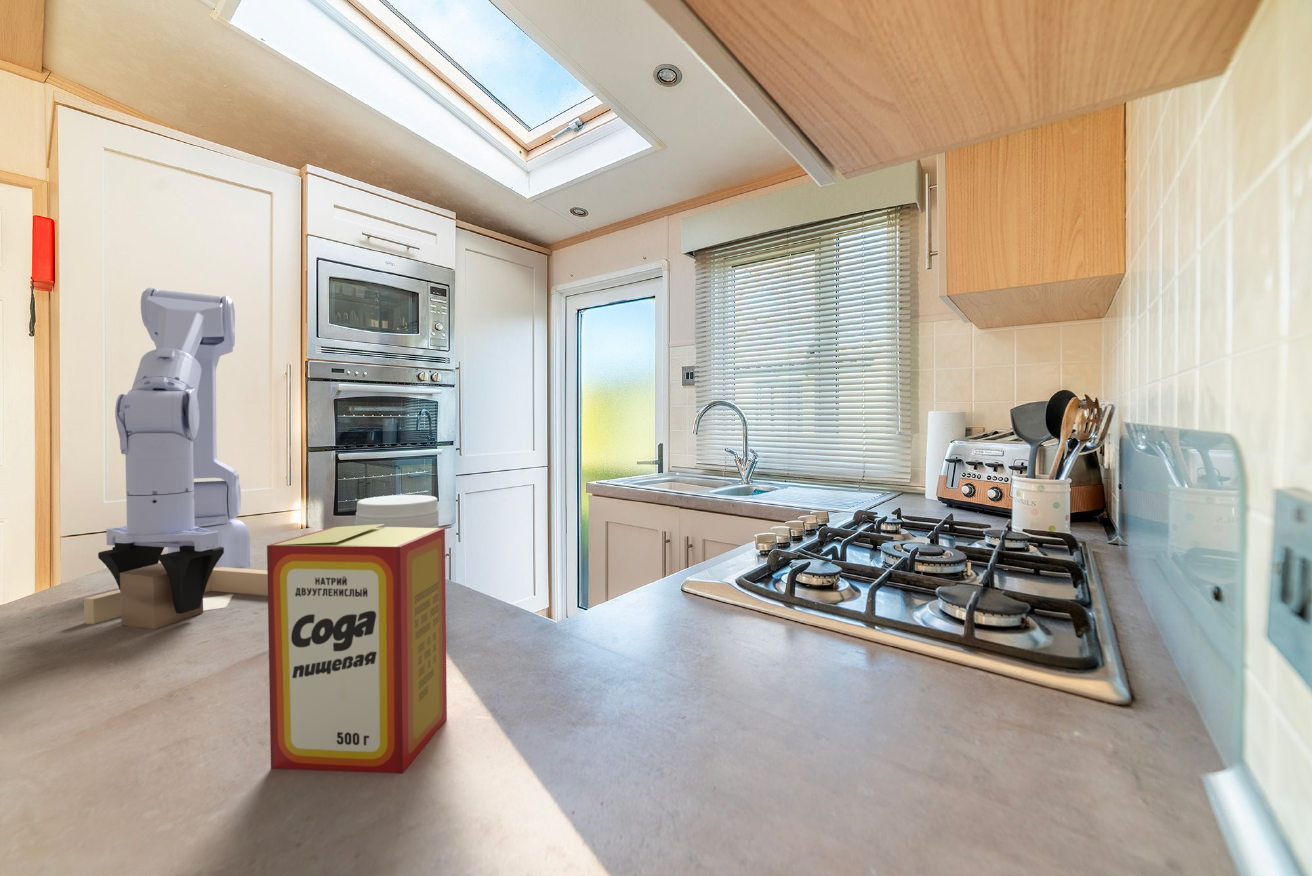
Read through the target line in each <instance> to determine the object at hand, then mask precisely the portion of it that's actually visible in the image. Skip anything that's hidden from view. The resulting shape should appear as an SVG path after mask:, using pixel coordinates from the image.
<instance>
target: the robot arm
mask: <svg viewBox="0 0 1312 876" xmlns="http://www.w3.org/2000/svg"><path fill="white" fill-rule="evenodd" d="M140 297H141V298H140V315H141V319H142V320H141V321H142V323H143V326H144V327H145V328H146V330H147V331H146V332H147V333H148V336H149V337H150V339H151V341H152V342H153V343H154V345H155V347H156V348H155V349H153V350H150V351H148V352H146V353H144V355H143V356H142V357H141V359H140V362H139V365H138V367H137V371H136V374H135V376H134V377H135V378H134V380H133V384H132V387H131V389H130V390H128V392H127V394H123V393H121V394H119V395H118V397H117V398H116V403H115V409H114V416H115V417H114V418H115V424H116V429H117V432H118V437H119V448H120V449H119V450H120V453H121V455H125V496H126V497H125V498H126V499H125V501H126V526H119V527H113V528H111V527H110V528H107V529H106V533H105V534H106V546H112V549H108V550H102V551H99V552H98V553H97V557H98V559H99V560H100V561H101V562H102V563H103V564H104V565H105V566H106V568H107V569H108V570H109V572H110V573H111V574H112V576H113V578H114V580H115V582H116V585H117V586H118V590H119V589H120V573H122V572H126V571H130V570H134V569H138V568H142V567H146V566H150V565H154V564H158V563H162V565H163V567H164V568H165V570H166V572H167V575H168V577H169V581H170V584H171V589H172V597H173V604H174V608H175V611H176V613H179V614H182V613H185V612H189V611H192V610H195V609H198V608H200V605H201V602H202V599H203V598H204V595H205V593H206V592H205V589H206V585H207V582H208V580H209V577H210V575H211V573H212V571H213V569H214V567H228V568H245V569H251V536H250V535H251V534H250V531H249V529H248V527H247V525H246V523H244V522H243V521H242V520H239V519H236V518H237V517H238V516H239V515H240V514H241V506H242V493H241V492H242V491H241V484H240V474H239V473H238V471H237V470H236V469H235V468H234V467H232V466H230V465H228V464H226V463H224V462H222V461H221V460H218V459H217V457H218V456H217V367H218V364H219V361H220V358H221V356H224V355H228V354H230V353H233V352H234V346H235V344H236V340H235V339H236V330H235V329H236V315H235V314H236V311H235V304H234V300H232V299H231V298H230V296H228V295H222V296H220V295H219V296H218V295H212V294H211V295H210V294H201V293H192V292H191V293H190V292H184V291H175V290H174V291H173V290H165V289H157V288H155V287H147V288H146V289H145V290H143V291H142V293H141V296H140ZM214 478H215V479H221V480H213V481H212V480H211V481H210V480H209V481H195V480H194V479H214ZM165 548H167V552H166V553H163V552H164V550H165ZM162 553H163V554H162Z"/></svg>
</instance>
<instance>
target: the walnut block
mask: <svg viewBox="0 0 1312 876" xmlns="http://www.w3.org/2000/svg"><path fill="white" fill-rule="evenodd" d="M120 592H121V617H120V618H121V625H122V626H127V627H128V626H129V627H134V628H136V627H137V628H144V629H152V630H155V629H158V628H161V627H164V626H169V625H172V624H174V623H178V622H180V621H185V620H186V619H190V618H192V617H195V616H199V615H201V614H203V613H204V611H203V599H202V602H201V605H200V608H198V609H195V610H192V611H189V612H185V613H182V614H179V613H176V611H175V608H174V604H173V597H172V589H171V584H170V581H169V577H168V575H167V572H166V570H165V568H164V567H163V565H162V563H161V562H158V564H154V565H150V566H146V567H142V568H138V569H134V570H130V571H126V572H122V573H120Z"/></svg>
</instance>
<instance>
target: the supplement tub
mask: <svg viewBox="0 0 1312 876" xmlns="http://www.w3.org/2000/svg"><path fill="white" fill-rule="evenodd" d="M439 509H440V508H439V506H438V498H437V497H436V496H434V495H433V496H432V495H427V494H426V495H425V494H395V495H385V496H384V495H382V496H374V497H367V498H363V499H360V500H358V501H356V512H355V517H354V519H355V521H354V524H355V525H354V526H360V525H376V524H384V525H381V526H378V527H376V528H384V527H413V528H440V527H439V526H440V523H439V522H440V521H439V520H440V519H439Z"/></svg>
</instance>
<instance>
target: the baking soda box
mask: <svg viewBox="0 0 1312 876" xmlns="http://www.w3.org/2000/svg"><path fill="white" fill-rule="evenodd" d="M381 525H384V524H376V525H360V526H355V525H347V526H332V527H328V528H323V529H321V530H317V531H313V532H310V533H307V534H303V535H299V536H296V537H293V538H289V539H286V540H281V541H279V542H274V543H270V544H268V545H266V565H267V567H266V568H267V569H266V570H267V575H268V596H267V616H268V617H267V618H268V621H267V623H268V625H267V626H268V628H267V631H268V676H269V677H268V679H269V690H268V691H269V726H270V727H269V732H270V733H269V735H270V736H269V739H270V741H269V742H270V744H269V745H270V746H269V747H270V769H271V770H293V771H294V770H296V771H298V770H299V771H323V772H324V771H325V772H351V773H352V772H353V773H354V772H355V773H381V774H386V773H387V774H404V773H405V772H406V770H408V768H409V767H410V766H411V764H412V763H413V762H414V761H415V759H416V758H417V757H418V755H419V754H420V753H421V752H422V751H423V750H424V748H425V747H426V746H427V744H428V743H429V742H430V741H431V740H432V739H433V737H434V736H435V734H437V732H438V731H439V730H440V729H441V728H442V726H443V725H444V724H445V723H446V721H447V720H448V711H447V710H448V708H447V707H448V705H447V704H448V703H447V702H448V700H447V699H448V698H447V695H448V694H447V686H448V685H447V621H446V620H447V617H446V616H447V613H446V611H447V610H446V608H447V607H446V599H447V597H446V529H445V527H439V528H413V527H384V528H376V527H378V526H381Z"/></svg>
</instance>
